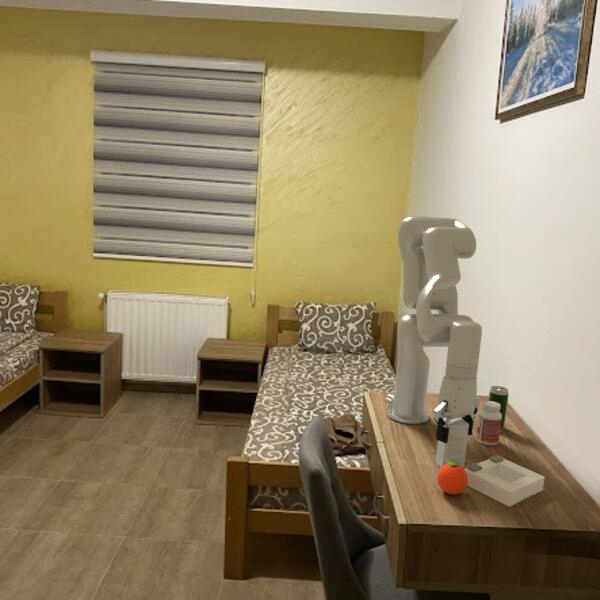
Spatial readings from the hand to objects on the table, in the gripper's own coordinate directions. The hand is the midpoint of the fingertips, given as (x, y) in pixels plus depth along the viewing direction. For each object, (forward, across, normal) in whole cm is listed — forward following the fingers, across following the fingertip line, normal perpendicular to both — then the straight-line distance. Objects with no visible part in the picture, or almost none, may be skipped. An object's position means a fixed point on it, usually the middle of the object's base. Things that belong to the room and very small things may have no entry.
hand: (454, 437), depth 157 cm
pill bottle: (+8, -22, -5) cm, 24 cm away
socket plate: (+8, -2, +13) cm, 16 cm away
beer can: (+7, -34, -10) cm, 36 cm away
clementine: (+8, +10, +8) cm, 16 cm away
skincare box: (+8, 0, -1) cm, 8 cm away
